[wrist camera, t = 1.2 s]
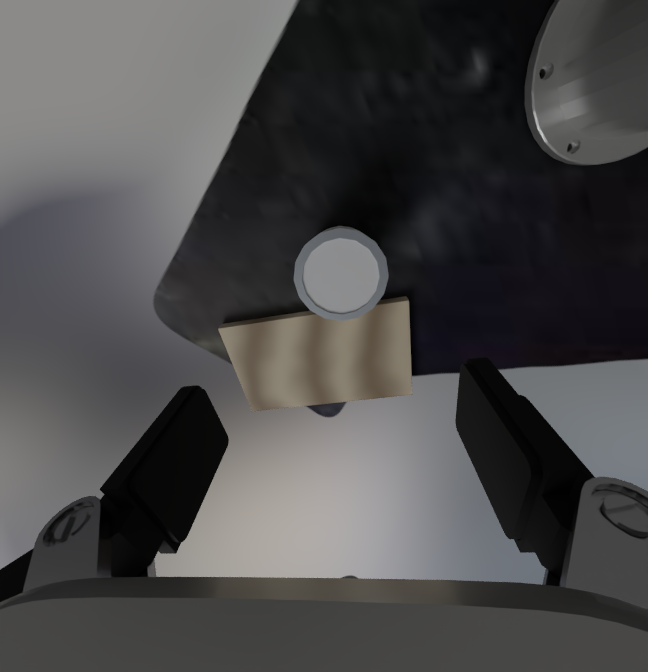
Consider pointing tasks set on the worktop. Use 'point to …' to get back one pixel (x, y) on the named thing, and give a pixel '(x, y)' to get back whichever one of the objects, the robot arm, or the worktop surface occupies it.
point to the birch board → (322, 356)
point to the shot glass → (341, 274)
